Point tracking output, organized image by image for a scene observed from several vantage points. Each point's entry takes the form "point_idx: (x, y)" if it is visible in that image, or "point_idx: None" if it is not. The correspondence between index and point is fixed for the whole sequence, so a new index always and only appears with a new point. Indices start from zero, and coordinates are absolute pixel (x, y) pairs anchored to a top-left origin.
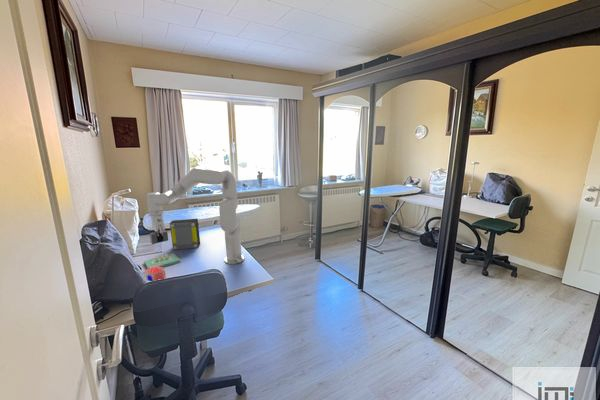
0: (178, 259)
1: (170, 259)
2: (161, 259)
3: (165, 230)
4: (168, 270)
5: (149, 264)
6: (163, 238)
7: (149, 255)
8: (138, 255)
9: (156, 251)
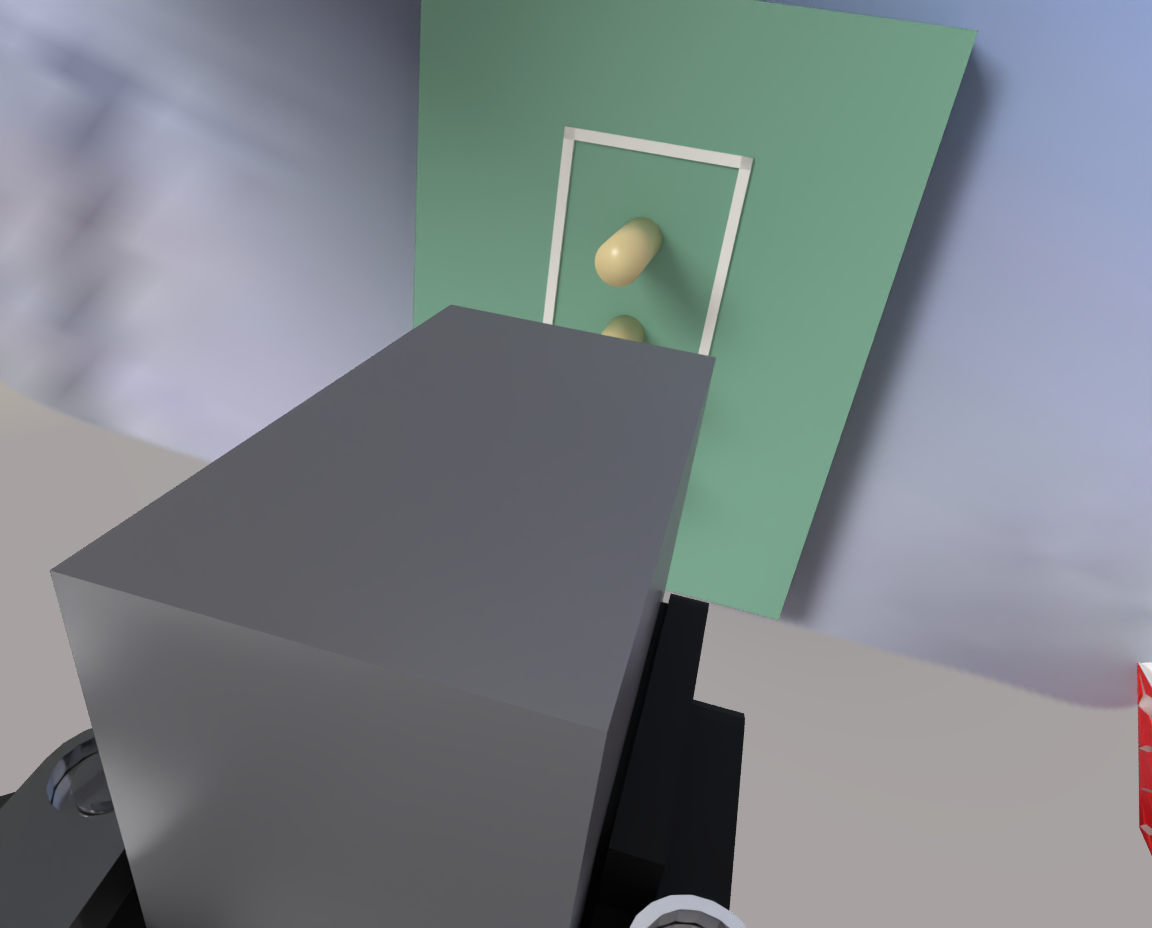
0: (927, 58)
1: (745, 200)
2: None
3: (132, 624)
4: (1098, 423)
5: None
6: (650, 634)
7: (153, 301)
8: (63, 401)
9: (32, 133)
